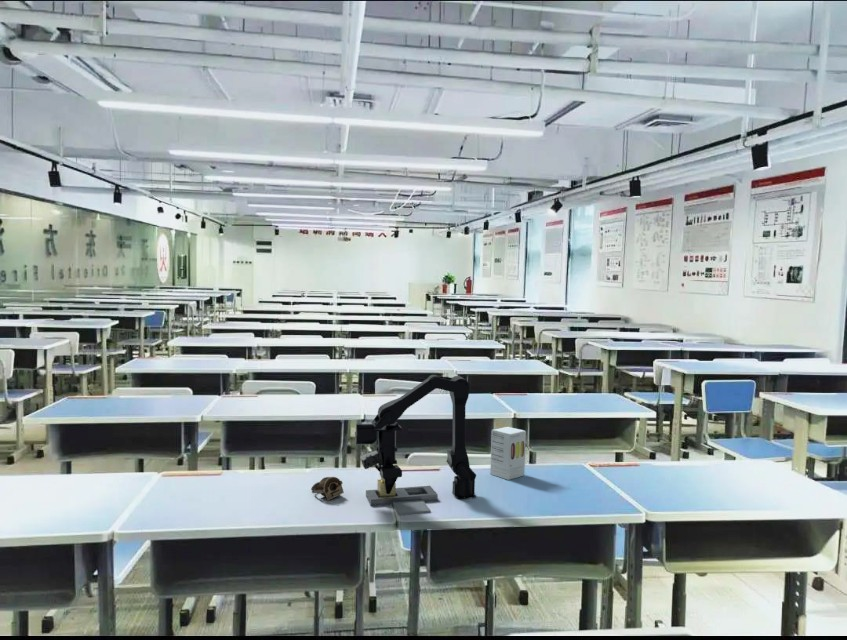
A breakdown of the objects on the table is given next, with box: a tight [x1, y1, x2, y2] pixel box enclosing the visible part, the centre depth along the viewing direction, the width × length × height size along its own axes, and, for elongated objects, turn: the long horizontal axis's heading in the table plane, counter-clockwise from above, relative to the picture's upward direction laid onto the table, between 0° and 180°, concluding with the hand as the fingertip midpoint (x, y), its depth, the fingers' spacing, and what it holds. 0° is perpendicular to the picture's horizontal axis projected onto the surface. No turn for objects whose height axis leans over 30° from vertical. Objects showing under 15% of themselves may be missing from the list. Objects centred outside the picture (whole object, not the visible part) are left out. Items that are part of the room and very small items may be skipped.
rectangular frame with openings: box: [365, 485, 439, 507], centre depth 206 cm, size 22×9×2 cm, turn 105°
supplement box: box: [489, 426, 527, 481], centre depth 232 cm, size 10×9×17 cm
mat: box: [391, 500, 432, 516], centre depth 197 cm, size 10×10×1 cm
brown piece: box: [311, 476, 344, 501], centre depth 208 cm, size 7×13×10 cm
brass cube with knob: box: [376, 476, 397, 498], centre depth 204 cm, size 5×5×8 cm
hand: (386, 491), depth 204 cm, fingers closed on brass cube with knob, 5 cm apart
